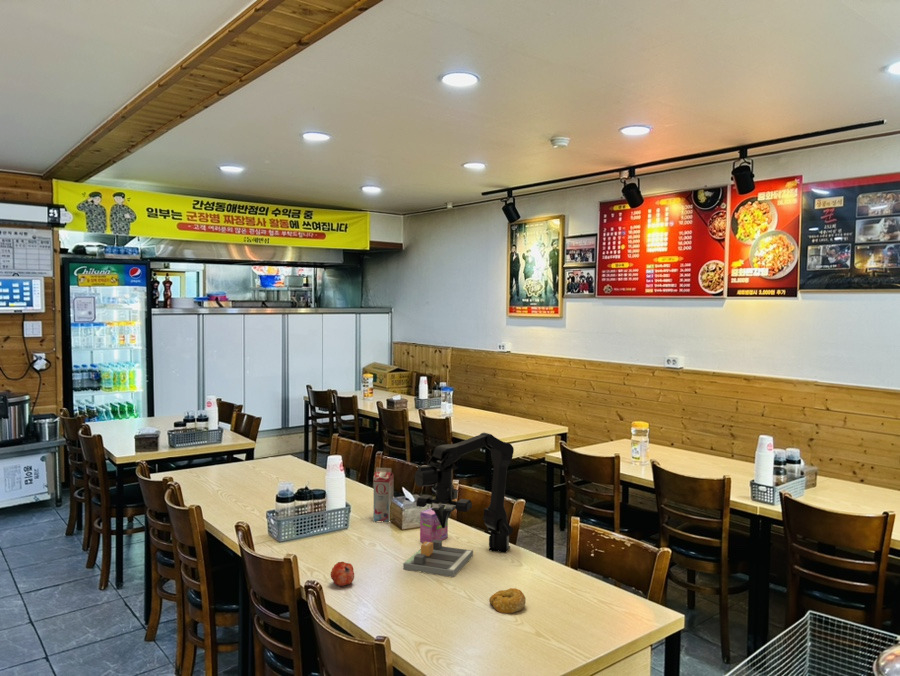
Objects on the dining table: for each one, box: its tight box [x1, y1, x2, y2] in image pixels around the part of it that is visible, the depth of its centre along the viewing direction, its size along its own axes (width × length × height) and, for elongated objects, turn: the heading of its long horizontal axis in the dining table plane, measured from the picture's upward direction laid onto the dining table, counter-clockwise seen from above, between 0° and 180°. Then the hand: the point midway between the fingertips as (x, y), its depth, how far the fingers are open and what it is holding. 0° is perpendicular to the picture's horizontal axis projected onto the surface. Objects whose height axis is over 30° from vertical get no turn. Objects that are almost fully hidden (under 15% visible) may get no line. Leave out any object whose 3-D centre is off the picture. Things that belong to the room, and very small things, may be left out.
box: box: [419, 507, 449, 544], centre depth 243 cm, size 10×6×12 cm, turn 143°
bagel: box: [488, 587, 526, 614], centre depth 188 cm, size 10×11×5 cm
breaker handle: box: [420, 542, 433, 556], centre depth 222 cm, size 3×4×4 cm
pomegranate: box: [330, 561, 355, 587], centre depth 203 cm, size 7×7×10 cm
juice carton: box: [373, 467, 395, 523], centre depth 267 cm, size 7×7×22 cm
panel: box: [402, 539, 474, 578], centre depth 221 cm, size 18×20×4 cm
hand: (443, 527), depth 220 cm, fingers closed
